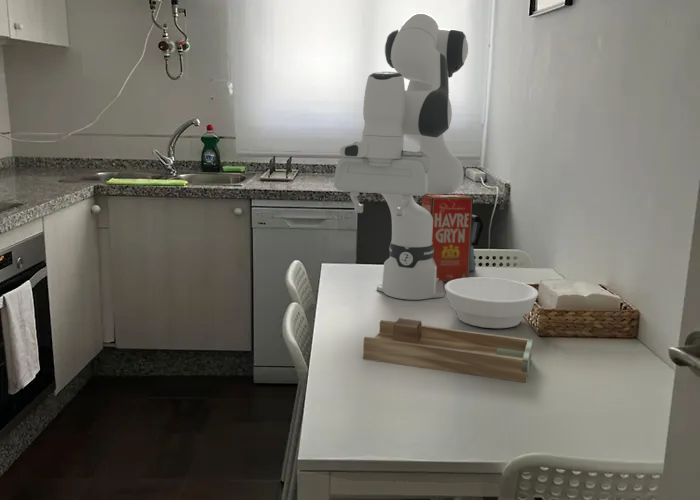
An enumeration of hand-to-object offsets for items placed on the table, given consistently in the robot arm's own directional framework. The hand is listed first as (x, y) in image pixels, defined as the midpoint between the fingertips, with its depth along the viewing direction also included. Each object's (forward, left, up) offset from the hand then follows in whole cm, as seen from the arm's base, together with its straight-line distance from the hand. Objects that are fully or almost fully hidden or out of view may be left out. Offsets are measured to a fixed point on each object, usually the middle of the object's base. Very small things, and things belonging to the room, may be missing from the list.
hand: (379, 214), depth 153 cm
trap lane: (+6, +18, -28) cm, 34 cm away
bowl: (-24, +22, -29) cm, 43 cm away
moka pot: (-74, +7, -29) cm, 79 cm away
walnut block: (+4, +8, -26) cm, 28 cm away
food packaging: (-58, +4, -28) cm, 65 cm away
